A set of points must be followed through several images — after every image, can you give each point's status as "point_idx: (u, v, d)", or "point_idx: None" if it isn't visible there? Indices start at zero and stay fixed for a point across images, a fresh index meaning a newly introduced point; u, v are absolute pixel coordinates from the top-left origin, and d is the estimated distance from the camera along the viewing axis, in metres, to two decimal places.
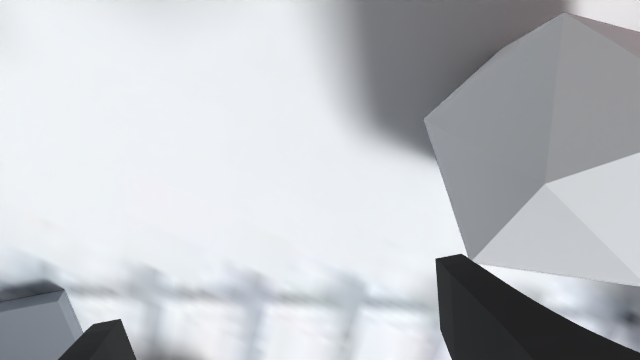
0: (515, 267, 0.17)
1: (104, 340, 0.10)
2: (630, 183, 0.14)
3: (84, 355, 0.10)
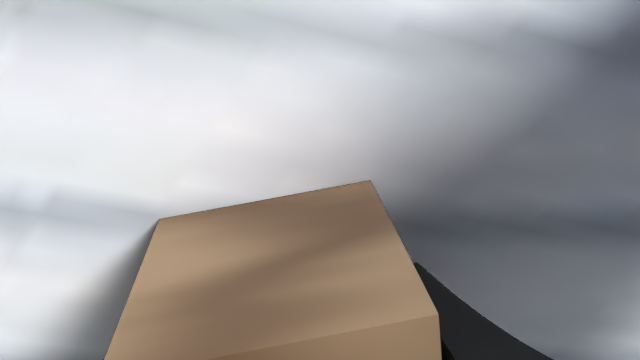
0: None
1: None
2: None
3: None
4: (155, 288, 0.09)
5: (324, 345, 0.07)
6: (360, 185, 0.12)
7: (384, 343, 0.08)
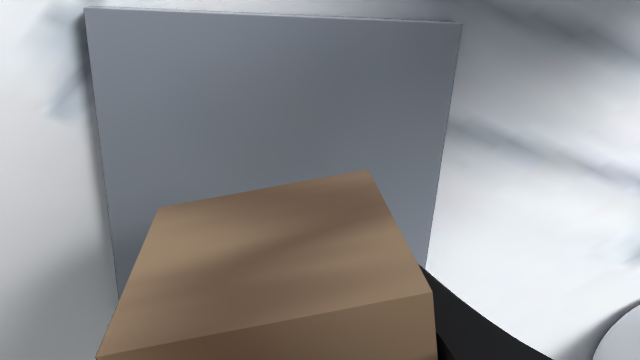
0: None
1: None
2: None
3: None
4: (154, 271, 0.09)
5: (320, 323, 0.08)
6: (357, 173, 0.12)
7: (379, 320, 0.08)
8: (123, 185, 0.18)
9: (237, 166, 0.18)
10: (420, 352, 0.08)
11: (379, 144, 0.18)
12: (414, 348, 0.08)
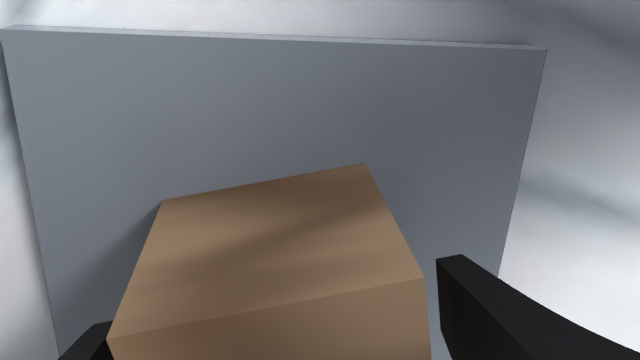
0: None
1: (104, 340, 0.10)
2: None
3: (84, 355, 0.10)
4: (159, 260, 0.10)
5: (318, 306, 0.08)
6: (354, 167, 0.12)
7: (374, 304, 0.08)
8: (70, 272, 0.13)
9: None
10: (413, 335, 0.08)
11: (424, 212, 0.13)
12: (407, 331, 0.08)
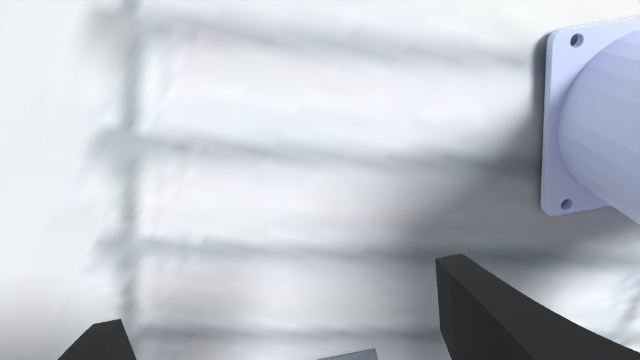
0: None
1: (104, 340, 0.10)
2: None
3: (84, 355, 0.10)
4: None
5: None
6: None
7: None
8: None
9: None
10: None
11: None
12: None
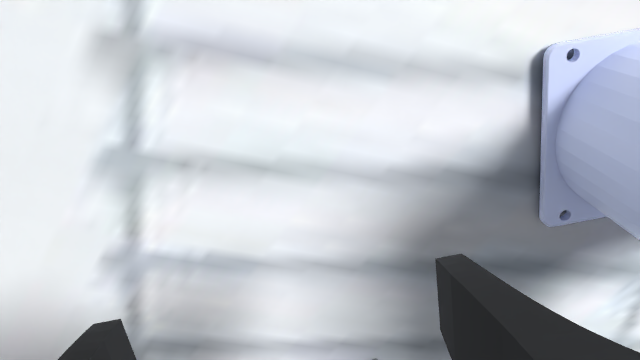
0: None
1: (104, 340, 0.10)
2: None
3: (84, 355, 0.10)
4: None
5: None
6: None
7: None
8: None
9: None
10: None
11: None
12: None
